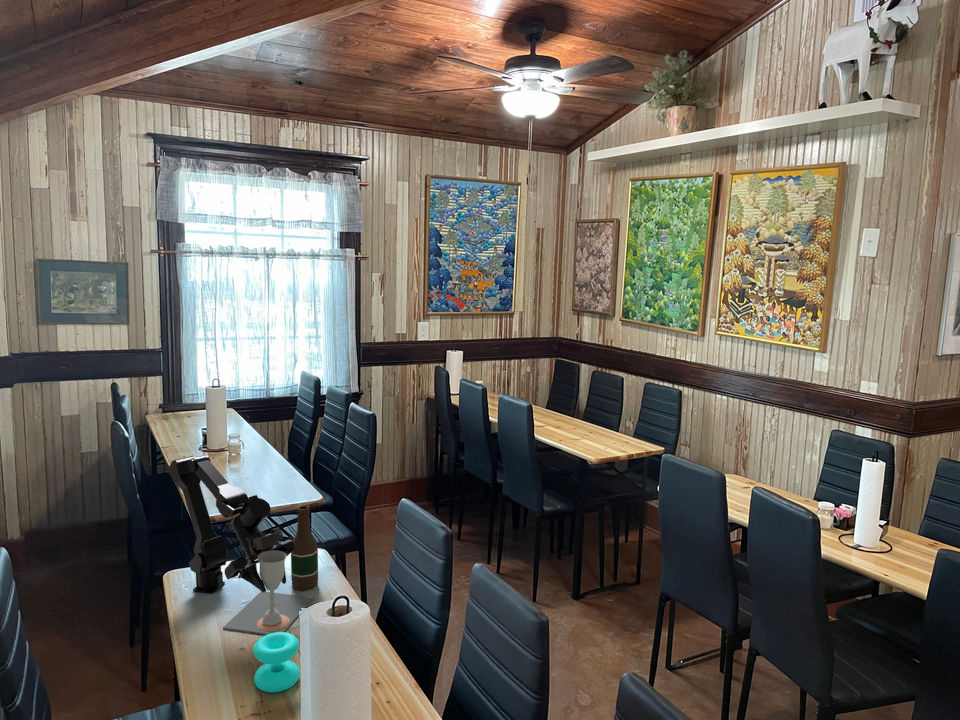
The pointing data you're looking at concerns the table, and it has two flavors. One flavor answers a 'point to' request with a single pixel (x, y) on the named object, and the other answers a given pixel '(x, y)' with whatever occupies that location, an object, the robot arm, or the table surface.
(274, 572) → the chalice
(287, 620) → the mat
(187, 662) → the table surface
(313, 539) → the beer bottle
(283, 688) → the turquoise spool
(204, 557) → the robot arm
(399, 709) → the table surface
